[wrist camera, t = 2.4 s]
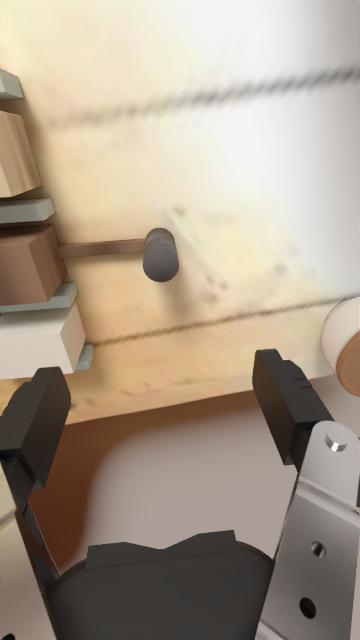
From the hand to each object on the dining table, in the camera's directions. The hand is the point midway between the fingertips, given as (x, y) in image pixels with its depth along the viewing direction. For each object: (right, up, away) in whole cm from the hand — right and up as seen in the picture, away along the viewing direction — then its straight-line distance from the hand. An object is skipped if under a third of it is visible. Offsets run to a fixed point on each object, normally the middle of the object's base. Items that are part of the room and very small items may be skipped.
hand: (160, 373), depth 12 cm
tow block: (-9, +9, +15) cm, 20 cm away
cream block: (-14, +2, +19) cm, 24 cm away
